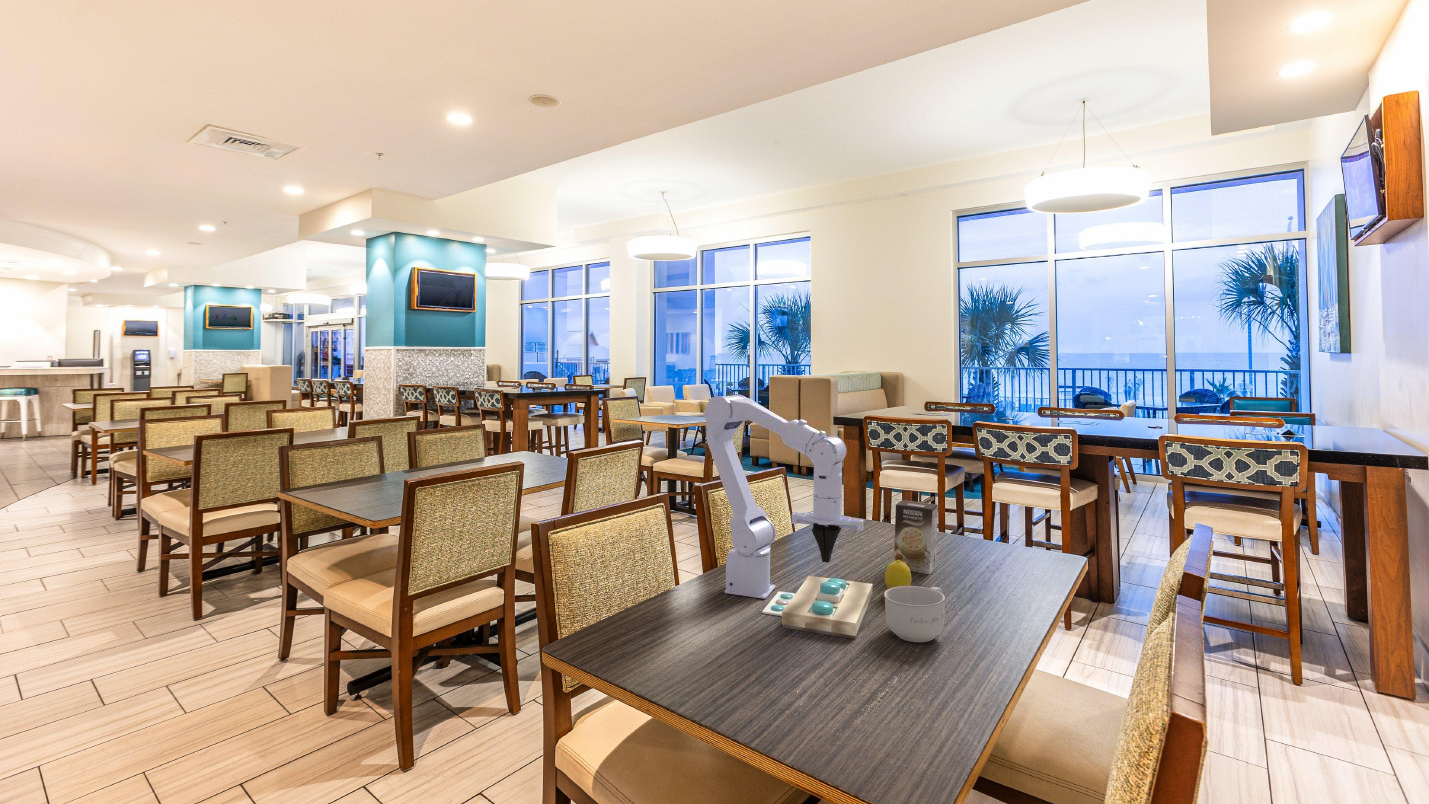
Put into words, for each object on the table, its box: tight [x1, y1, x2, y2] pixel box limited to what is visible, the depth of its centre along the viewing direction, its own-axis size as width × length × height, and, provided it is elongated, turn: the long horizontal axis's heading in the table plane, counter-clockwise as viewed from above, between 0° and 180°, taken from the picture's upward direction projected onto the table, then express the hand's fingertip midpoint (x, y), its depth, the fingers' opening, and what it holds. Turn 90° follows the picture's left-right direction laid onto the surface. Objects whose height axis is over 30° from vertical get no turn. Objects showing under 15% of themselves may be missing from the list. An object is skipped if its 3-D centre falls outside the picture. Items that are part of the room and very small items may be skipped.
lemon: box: [884, 560, 912, 590], centre depth 137 cm, size 6×6×8 cm
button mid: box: [817, 582, 843, 603], centre depth 128 cm, size 4×4×3 cm
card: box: [762, 591, 796, 617], centre depth 132 cm, size 5×12×1 cm, turn 158°
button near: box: [810, 601, 836, 616], centre depth 122 cm, size 4×4×3 cm
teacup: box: [883, 585, 946, 643], centre depth 118 cm, size 14×11×8 cm
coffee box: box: [893, 499, 939, 575], centre depth 155 cm, size 9×6×16 cm
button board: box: [781, 575, 874, 640], centre depth 128 cm, size 14×22×3 cm, turn 158°
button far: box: [827, 577, 849, 591], centre depth 135 cm, size 4×4×3 cm
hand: (826, 560), depth 130 cm, fingers closed
